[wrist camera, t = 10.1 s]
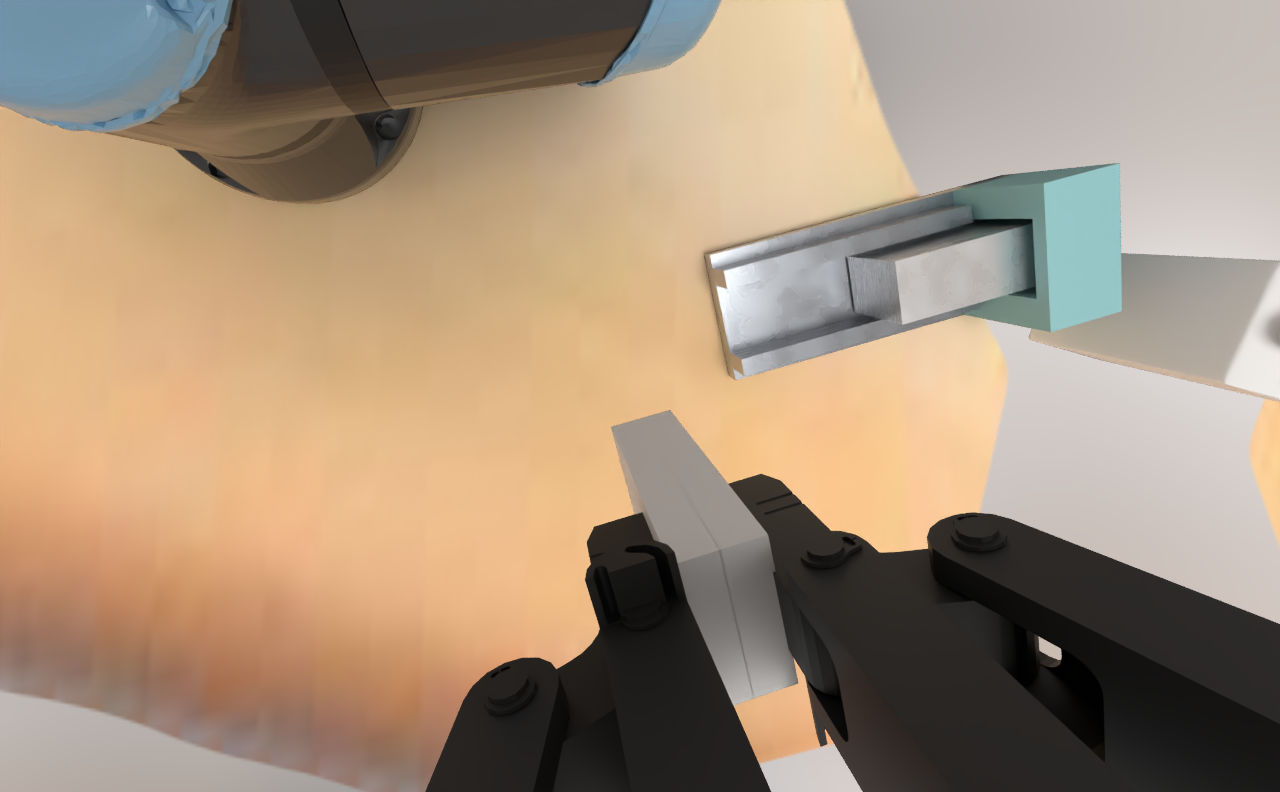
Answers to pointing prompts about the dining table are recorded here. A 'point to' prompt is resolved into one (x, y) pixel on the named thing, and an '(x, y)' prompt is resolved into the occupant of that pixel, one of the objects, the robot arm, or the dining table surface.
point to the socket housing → (1058, 243)
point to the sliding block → (944, 270)
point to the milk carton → (1190, 322)
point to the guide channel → (815, 284)
